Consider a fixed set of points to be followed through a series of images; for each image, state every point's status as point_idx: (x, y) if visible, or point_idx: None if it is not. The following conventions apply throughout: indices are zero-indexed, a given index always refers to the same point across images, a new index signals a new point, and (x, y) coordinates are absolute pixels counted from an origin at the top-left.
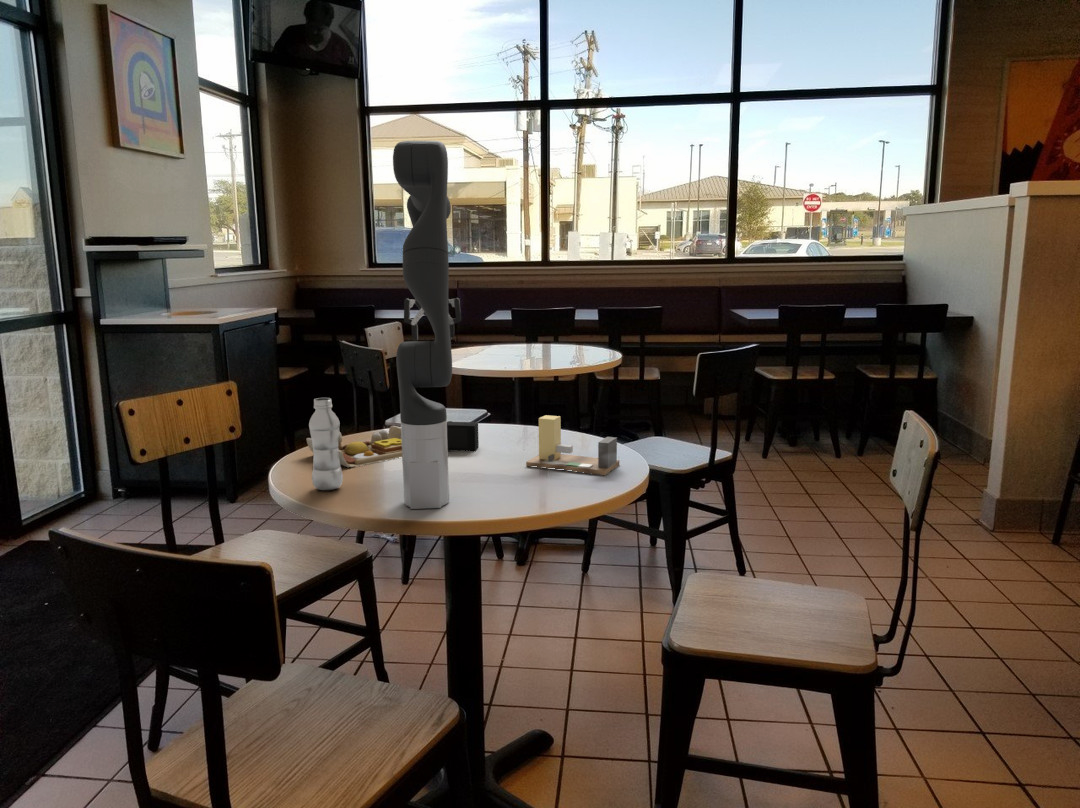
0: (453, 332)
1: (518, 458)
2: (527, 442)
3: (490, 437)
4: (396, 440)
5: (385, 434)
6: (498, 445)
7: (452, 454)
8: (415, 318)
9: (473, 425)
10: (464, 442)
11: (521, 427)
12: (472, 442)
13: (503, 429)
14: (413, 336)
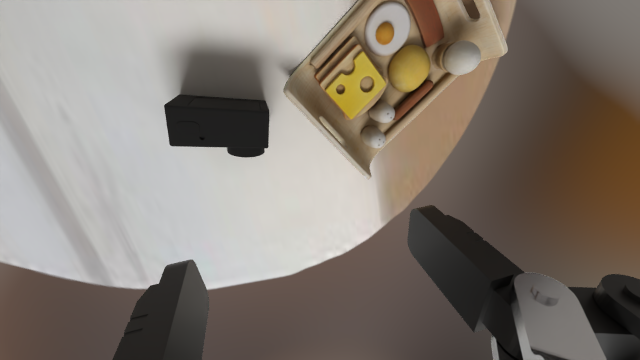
0: (131, 323)
1: (35, 25)
2: (86, 177)
3: (186, 206)
4: (346, 96)
5: (372, 134)
6: (145, 148)
7: (222, 67)
8: (579, 348)
9: (168, 108)
10: (201, 100)
11: (151, 278)
12: (181, 98)
13: (182, 260)
14: (449, 221)
